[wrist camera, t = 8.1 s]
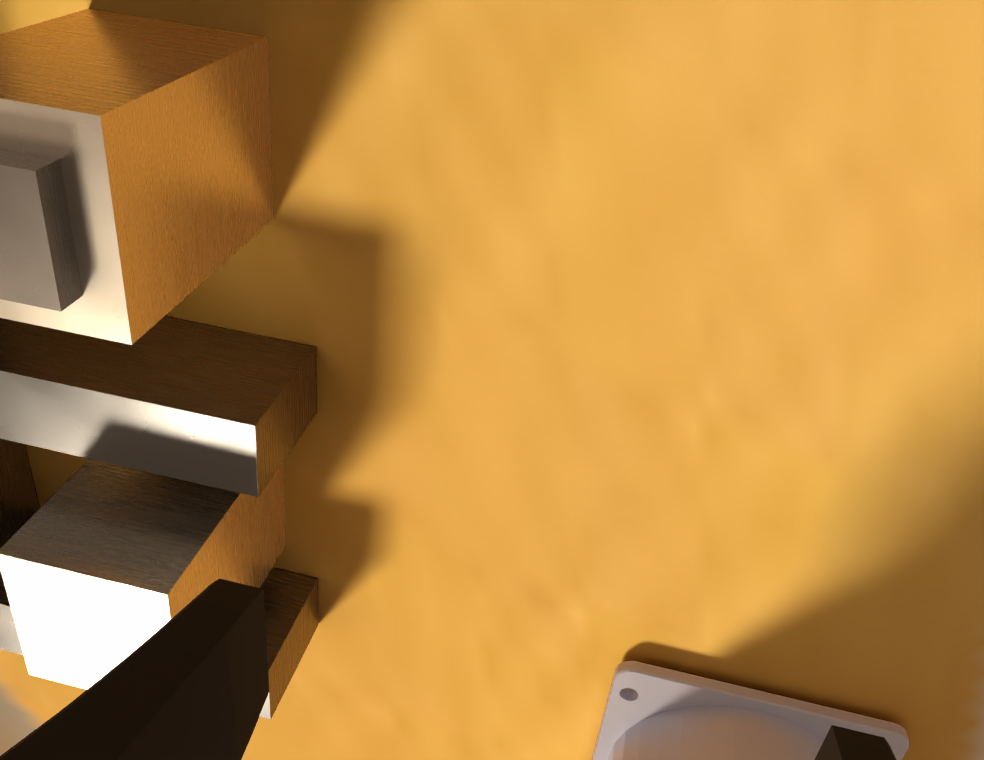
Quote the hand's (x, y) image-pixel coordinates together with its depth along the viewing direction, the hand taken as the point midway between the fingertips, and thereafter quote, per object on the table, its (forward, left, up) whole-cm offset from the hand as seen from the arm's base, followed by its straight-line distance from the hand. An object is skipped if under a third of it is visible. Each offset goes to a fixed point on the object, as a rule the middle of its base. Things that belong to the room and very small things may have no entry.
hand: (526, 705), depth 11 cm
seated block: (-7, +10, -11) cm, 16 cm away
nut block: (+3, +10, -11) cm, 15 cm away
